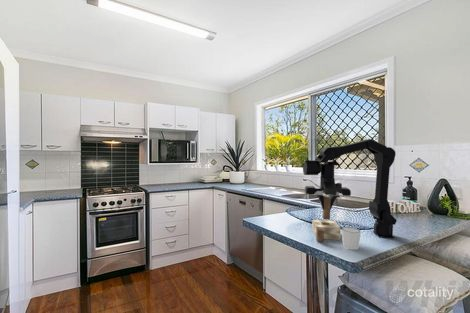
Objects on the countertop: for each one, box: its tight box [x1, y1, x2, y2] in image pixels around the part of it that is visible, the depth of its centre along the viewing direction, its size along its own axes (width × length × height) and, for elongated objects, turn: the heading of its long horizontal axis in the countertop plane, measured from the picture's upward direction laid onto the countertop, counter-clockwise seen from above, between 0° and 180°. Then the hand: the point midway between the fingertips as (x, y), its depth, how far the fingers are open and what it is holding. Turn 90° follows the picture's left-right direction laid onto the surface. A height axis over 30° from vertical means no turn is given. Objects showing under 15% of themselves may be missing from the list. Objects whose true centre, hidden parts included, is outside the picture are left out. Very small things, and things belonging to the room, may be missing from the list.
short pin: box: [315, 228, 325, 243], centre depth 102 cm, size 3×3×5 cm
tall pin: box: [322, 195, 331, 221], centre depth 109 cm, size 3×3×10 cm
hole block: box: [311, 219, 342, 240], centre depth 109 cm, size 10×10×5 cm
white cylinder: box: [341, 226, 362, 251], centre depth 96 cm, size 7×7×7 cm
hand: (326, 209), depth 109 cm, fingers closed on tall pin, 3 cm apart
